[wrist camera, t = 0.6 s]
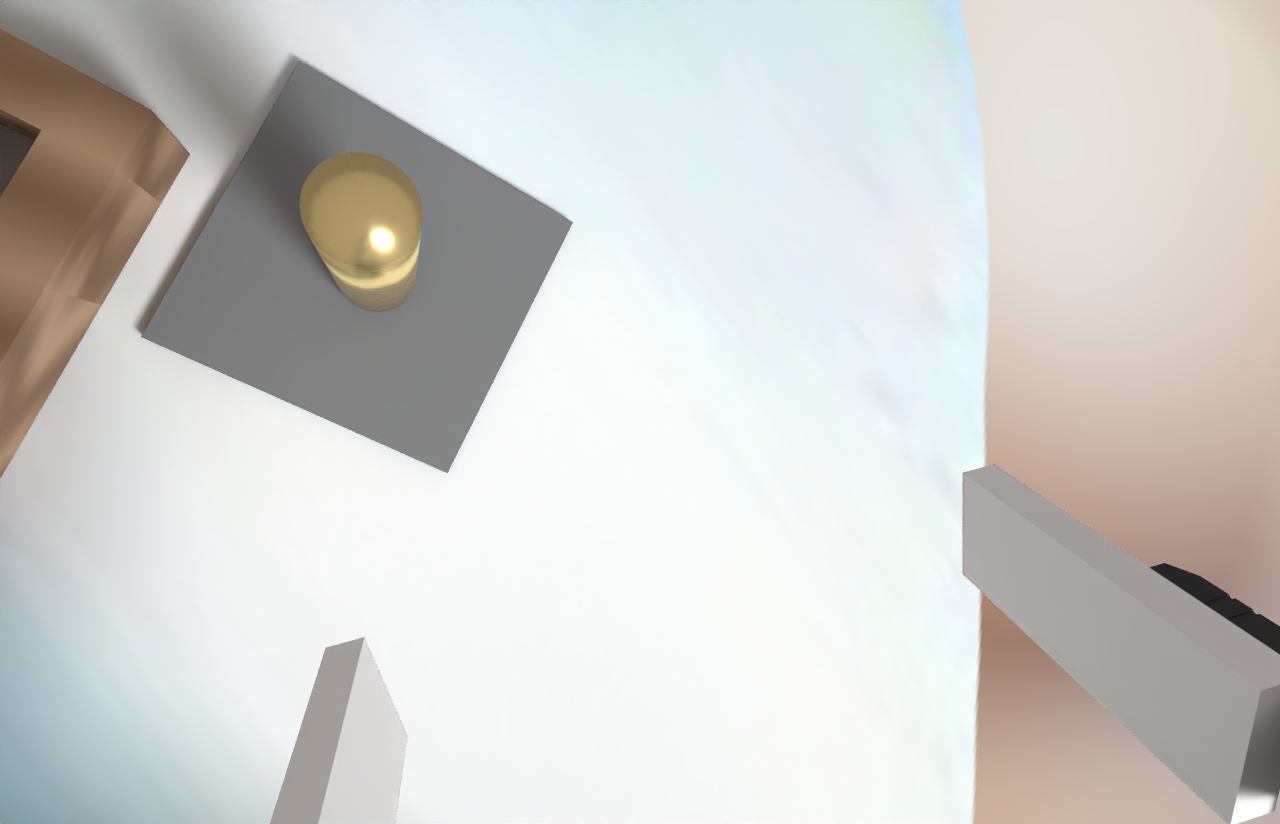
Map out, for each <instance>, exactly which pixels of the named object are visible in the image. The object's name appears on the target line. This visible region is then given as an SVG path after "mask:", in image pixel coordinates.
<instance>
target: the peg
mask: <svg viewBox="0 0 1280 824" xmlns="http://www.w3.org/2000/svg"><path fill="white" fill-rule="evenodd" d="M300 214H301V218H302V222H303V225H304V227H305V229H306V232H307V233H308V235H309V237H310V239H311V240H312V242H313V244H314V245H315V247H316V249H317V251H318V252H319V254H320V256H321V258H322V259H323V261H324V263H325V265H326V266H327V268H328V270H329V272H330V273H331V275H332V277H333V278H334V280H335V282H336V284H337V285H338V287H339V289H340V291H341V292H342V294H343V295H344V296H345V298H346V299H347V300H348V301H349V302H351V303H352V304H353V305H355V306H357V307H358V308H361V309H363V310H366V311H371V312H385V311H390V310H392V309H395V308H397V307H399V306H400V305H402V304H403V303H404V302H405V301H406V300H407V299H408V298H409V296H410V295H411V293H412V291H413V289H414V285H415V279H416V271H417V262H418V253H419V245H420V236H421V228H422V219H423V211H422V204H421V200H420V197H419V194H418V192H417V189H416V188H415V186H414V184H413V183H412V181H411V180H410V179H409V177H408V176H407V175H406V174H405V173H404V172H403V171H402V170H401V169H400V168H399V167H397V166H396V165H395V164H393V163H392V162H390V161H388V160H386V159H384V158H382V157H379V156H377V155H374V154H369V153H363V152H348V153H342V154H338V155H335V156H332V157H330V158H328V159H326V160H325V161H323V162H321V163H320V164H319V165H318V166H316V167H315V168H314V169H313V171H312V172H311V173H310V174H309V176H308V177H307V179H306V181H305V183H304V185H303V188H302V191H301V196H300Z"/></svg>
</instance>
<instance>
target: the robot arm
mask: <svg viewBox="0 0 1280 824" xmlns="http://www.w3.org/2000/svg"><path fill="white" fill-rule="evenodd" d="M963 575H964V576H965V577H967V578H968V579H969V580H970V581H971V582H972V583H973V584H974V585H975V586H976V587H977V588H978V589H979V590H980V591H981V592H982V593H983V594H985V595H986V596H987V597H988V598H989V599H990V600H991V601H992V602H993V603H994V604H995V605H996V606H997V607H998V608H999V609H1000V610H1001V611H1003V612H1004V613H1005V614H1006V615H1007V616H1008V617H1009V618H1010V619H1011V620H1012V621H1013V622H1014V623H1015V624H1016V625H1018V627H1020V628H1021V629H1022V630H1023V631H1024V632H1025V633H1026V634H1027V635H1028V636H1029V637H1030V638H1031V639H1032V640H1033V641H1034V642H1035V643H1036V644H1038V645H1039V646H1040V647H1041V648H1042V649H1043V650H1044V651H1045V652H1046V653H1047V654H1048V655H1049V656H1050V657H1051V658H1052V659H1053V660H1055V661H1056V662H1057V663H1058V664H1059V665H1060V666H1061V667H1062V668H1063V669H1064V670H1065V671H1066V672H1068V674H1070V675H1071V677H1073V678H1074V679H1075V680H1076V681H1077V682H1078V683H1079V684H1080V685H1081V686H1082V687H1083V688H1084V689H1085V690H1086V691H1087V692H1088V693H1089V694H1091V695H1092V696H1093V697H1094V698H1095V699H1096V700H1097V701H1098V702H1099V703H1100V704H1101V705H1102V706H1103V707H1104V708H1105V709H1107V711H1109V712H1110V713H1111V714H1112V715H1113V716H1114V717H1115V718H1116V719H1117V720H1118V721H1119V722H1120V723H1121V724H1122V725H1123V726H1124V727H1126V728H1127V729H1128V730H1129V731H1130V732H1131V733H1132V734H1133V735H1134V736H1135V737H1136V738H1137V739H1138V740H1139V741H1140V742H1142V744H1144V745H1145V746H1146V747H1147V748H1148V749H1149V750H1150V751H1151V752H1152V753H1153V754H1154V755H1155V756H1156V757H1157V758H1158V759H1160V761H1162V762H1163V763H1164V764H1165V765H1166V766H1167V767H1168V768H1169V769H1170V770H1171V771H1172V772H1173V773H1174V774H1175V775H1176V776H1177V777H1178V778H1180V779H1181V780H1182V781H1183V782H1184V783H1185V784H1186V785H1187V786H1188V787H1189V788H1190V789H1191V790H1192V791H1193V792H1194V793H1195V794H1196V795H1198V796H1199V797H1200V798H1201V799H1202V800H1203V801H1204V802H1205V803H1206V804H1207V805H1208V806H1209V807H1211V809H1212V810H1213V811H1215V812H1216V813H1217V814H1218V815H1219V816H1220V817H1221V818H1222V819H1223V820H1224V821H1225V822H1226V823H1227V824H1238V823H1241V822H1243V821H1246V820H1249V819H1252V818H1255V817H1258V816H1261V815H1264V814H1267V813H1269V812H1272V811H1274V810H1275V806H1276V802H1277V798H1278V794H1279V790H1280V626H1278V625H1277V624H1275V623H1273V622H1272V621H1270V620H1269V619H1267V618H1266V617H1264V616H1262V615H1261V614H1255V613H1254V611H1253V609H1251V608H1250V607H1248V606H1246V605H1245V604H1243V603H1242V602H1240V601H1239V600H1237V599H1231V598H1230V596H1229V594H1227V593H1226V592H1224V591H1222V590H1221V589H1219V588H1218V587H1216V586H1215V585H1213V584H1212V583H1210V582H1208V581H1207V580H1205V579H1204V578H1202V577H1201V576H1198V575H1196V574H1193V573H1190V572H1187V571H1184V570H1182V569H1179V568H1177V567H1174V566H1171V565H1168V564H1166V563H1163V564H1160V565H1157V566H1153V567H1150V568H1149V567H1148V566H1146V565H1144V564H1143V563H1142V562H1140V561H1138V560H1137V559H1136V558H1134V557H1133V556H1131V555H1130V554H1128V553H1127V552H1125V551H1124V550H1122V549H1121V548H1119V547H1118V546H1116V545H1115V544H1113V543H1112V542H1110V541H1109V540H1107V539H1106V538H1104V537H1103V536H1101V535H1100V534H1098V533H1097V532H1095V531H1094V530H1092V529H1090V528H1089V527H1088V526H1086V525H1085V524H1083V523H1081V522H1080V521H1079V520H1077V519H1076V518H1074V517H1073V516H1071V515H1070V514H1068V513H1066V512H1065V511H1064V510H1062V509H1061V508H1059V507H1057V506H1056V505H1055V504H1053V503H1052V502H1050V501H1048V500H1047V499H1046V498H1044V497H1043V496H1041V495H1040V494H1038V493H1036V492H1035V491H1034V490H1032V489H1031V488H1029V487H1028V486H1026V485H1025V484H1023V483H1022V482H1020V481H1018V480H1017V479H1016V478H1014V477H1013V476H1011V475H1010V474H1008V473H1006V472H1005V471H1004V470H1002V469H1001V468H999V467H998V466H996V465H994V464H993V465H990V466H986V467H982V468H978V469H975V470H971V471H968V472H964V473H963ZM406 742H407V734H406V731H405V729H404V727H403V725H402V722H401V720H400V718H399V715H398V713H397V711H396V708H395V706H394V704H393V702H392V699H391V697H390V695H389V692H388V690H387V688H386V686H385V683H384V681H383V679H382V676H381V674H380V672H379V670H378V667H377V665H376V663H375V660H374V658H373V656H372V654H371V651H370V649H369V647H368V644H367V642H366V640H365V638H364V637H363V638H360V639H356V640H353V641H349V642H345V643H342V644H338V645H334V646H331V647H327V648H326V649H325V652H324V655H323V658H322V661H321V665H320V668H319V671H318V674H317V677H316V680H315V684H314V687H313V690H312V693H311V696H310V699H309V702H308V706H307V709H306V712H305V715H304V718H303V721H302V725H301V728H300V731H299V734H298V737H297V740H296V744H295V747H294V750H293V753H292V756H291V759H290V762H289V766H288V769H287V772H286V775H285V778H284V781H283V785H282V788H281V791H280V794H279V797H278V800H277V804H276V807H275V810H274V813H273V816H272V819H271V822H270V824H395V822H396V815H397V807H398V800H399V793H400V785H401V778H402V771H403V763H404V756H405V749H406Z"/></svg>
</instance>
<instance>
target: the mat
mask: <svg viewBox="0 0 1280 824" xmlns="http://www.w3.org/2000/svg"><path fill="white" fill-rule="evenodd" d="M348 152H363V153H369V154H374V155H377V156H379V157H382V158H384V159H386V160H388V161H390V162H392V163H393V164H395V165H396V166H397V167H399V168H400V169H401V170H402V171H403V172H404V173H405V174H406V175H407V176H408V177H409V179H410V180H411V181H412V183H413V184H414V186H415V188H416V189H417V192H418V194H419V197H420V200H421V204H422V211H423V219H422V228H421V236H420V245H419V253H418V262H417V271H416V279H415V285H414V289H413V291H412V293H411V295H410V296H409V298H408V299H407V300H406V301H405V302H404V303H403V304H402V305H400V306H399V307H397V308H395V309H392V310H390V311H385V312H371V311H366V310H363V309H361V308H358V307H357V306H355V305H353V304H352V303H351V302H349V301H348V300H347V299H346V298H345V296H344V295H343V294H342V292H341V291H340V289H339V287H338V285H337V284H336V282H335V280H334V278H333V277H332V275H331V273H330V272H329V270H328V268H327V266H326V265H325V263H324V261H323V259H322V258H321V256H320V254H319V252H318V251H317V249H316V247H315V245H314V244H313V242H312V240H311V239H310V237H309V235H308V233H307V232H306V229H305V227H304V225H303V222H302V218H301V214H300V196H301V191H302V188H303V185H304V183H305V181H306V179H307V177H308V176H309V174H310V173H311V172H312V171H313V169H314V168H315V167H316V166H318V165H319V164H320V163H321V162H323V161H325V160H326V159H328V158H330V157H332V156H335V155H338V154H342V153H348ZM572 223H573V222H572V221H570V220H568V219H567V218H565V217H563V216H561V215H560V214H558V213H556V212H555V211H553V210H551V209H550V208H548V207H546V206H544V205H543V204H541V203H539V202H538V201H536V200H534V199H533V198H531V197H529V196H528V195H526V194H524V193H522V192H521V191H519V190H517V189H516V188H514V187H512V186H511V185H509V184H507V183H506V182H504V181H502V180H500V179H499V178H497V177H495V176H494V175H492V174H490V173H489V172H487V171H485V170H484V169H482V168H480V167H478V166H477V165H475V164H473V163H472V162H470V161H468V160H467V159H465V158H463V157H462V156H460V155H458V154H456V153H455V152H453V151H451V150H450V149H448V148H446V147H445V146H443V145H441V144H440V143H438V142H436V141H434V140H433V139H431V138H429V137H428V136H426V135H424V134H423V133H421V132H419V131H418V130H416V129H414V128H412V127H411V126H409V125H407V124H406V123H404V122H402V121H401V120H399V119H397V118H396V117H394V116H392V115H390V114H389V113H387V112H385V111H384V110H382V109H380V108H379V107H377V106H375V105H373V104H372V103H370V102H368V101H367V100H365V99H363V98H362V97H360V96H358V95H357V94H355V93H353V92H351V91H350V90H348V89H346V88H345V87H343V86H341V85H340V84H338V83H336V82H335V81H333V80H331V79H329V78H328V77H326V76H324V75H323V74H321V73H319V72H318V71H316V70H314V69H313V68H311V67H309V66H307V65H306V64H304V63H302V62H301V61H299V63H298V64H297V66H296V68H295V70H294V71H293V73H292V75H291V77H290V78H289V80H288V82H287V84H286V85H285V87H284V89H283V91H282V92H281V94H280V96H279V98H278V99H277V101H276V103H275V104H274V106H273V108H272V110H271V111H270V113H269V115H268V117H267V118H266V120H265V122H264V124H263V125H262V127H261V129H260V131H259V132H258V134H257V136H256V138H255V139H254V141H253V143H252V145H251V146H250V148H249V150H248V152H247V153H246V155H245V157H244V158H243V160H242V162H241V164H240V165H239V167H238V169H237V171H236V172H235V174H234V176H233V178H232V179H231V181H230V183H229V185H228V186H227V188H226V190H225V192H224V193H223V195H222V197H221V199H220V200H219V202H218V204H217V206H216V207H215V209H214V211H213V213H212V214H211V216H210V218H209V219H208V221H207V223H206V225H205V226H204V228H203V230H202V232H201V233H200V235H199V237H198V239H197V240H196V242H195V244H194V246H193V247H192V249H191V251H190V253H189V254H188V256H187V258H186V260H185V261H184V263H183V265H182V267H181V268H180V270H179V272H178V273H177V275H176V277H175V279H174V280H173V282H172V284H171V286H170V287H169V289H168V291H167V293H166V294H165V296H164V298H163V300H162V301H161V303H160V305H159V307H158V308H157V310H156V312H155V314H154V315H153V317H152V319H151V321H150V322H149V324H148V326H147V327H146V329H145V331H144V333H143V334H142V336H141V337H142V338H145V339H147V340H149V341H151V342H154V343H156V344H158V345H160V346H163V347H165V348H167V349H169V350H172V351H174V352H176V353H178V354H181V355H183V356H185V357H187V358H190V359H192V360H194V361H196V362H199V363H201V364H203V365H205V366H208V367H210V368H212V369H214V370H217V371H219V372H221V373H223V374H226V375H228V376H230V377H232V378H235V379H237V380H239V381H241V382H244V383H246V384H248V385H250V386H253V387H255V388H257V389H259V390H262V391H264V392H266V393H268V394H271V395H273V396H275V397H277V398H280V399H282V400H284V401H286V402H289V403H291V404H293V405H295V406H298V407H300V408H302V409H304V410H307V411H309V412H311V413H313V414H316V415H318V416H320V417H322V418H325V419H327V420H329V421H331V422H334V423H336V424H338V425H340V426H343V427H345V428H347V429H349V430H352V431H354V432H356V433H358V434H361V435H363V436H365V437H367V438H370V439H372V440H374V441H376V442H379V443H381V444H383V445H385V446H388V447H390V448H392V449H394V450H397V451H399V452H401V453H403V454H406V455H408V456H410V457H412V458H415V459H417V460H419V461H421V462H424V463H426V464H428V465H430V466H433V467H435V468H437V469H439V470H442V471H444V472H446V473H448V471H449V469H450V467H451V465H452V463H453V461H454V459H455V457H456V455H457V453H458V451H459V449H460V447H461V445H462V443H463V441H464V439H465V437H466V435H467V433H468V431H469V429H470V427H471V425H472V423H473V421H474V419H475V417H476V415H477V413H478V411H479V409H480V407H481V405H482V403H483V401H484V399H485V397H486V395H487V393H488V391H489V389H490V387H491V385H492V383H493V381H494V379H495V377H496V375H497V373H498V371H499V369H500V367H501V365H502V363H503V361H504V359H505V357H506V355H507V353H508V351H509V349H510V347H511V345H512V343H513V341H514V339H515V337H516V335H517V333H518V331H519V329H520V327H521V325H522V323H523V321H524V319H525V317H526V315H527V313H528V311H529V309H530V307H531V305H532V303H533V301H534V299H535V297H536V295H537V293H538V291H539V289H540V287H541V285H542V283H543V281H544V279H545V277H546V275H547V273H548V271H549V269H550V267H551V265H552V263H553V261H554V259H555V257H556V255H557V253H558V251H559V249H560V247H561V245H562V243H563V241H564V239H565V237H566V235H567V233H568V231H569V229H570V227H571V225H572Z"/></svg>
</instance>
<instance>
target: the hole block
mask: <svg viewBox="0 0 1280 824" xmlns="http://www.w3.org/2000/svg"><path fill="white" fill-rule="evenodd" d="M0 123H1V124H3V125H5V126H7V127H9V128H11V129H13V130H15V131H17V132H19V133H21V134H23V135H25V136H27V137H29V138H31V139H33V140H35V142H34V143H33V145H32V146H31V148H30V150H29V151H28V153H27V155H26V156H25V158H24V159H23V161H22V163H21V164H20V166H19V167H18V169H17V171H16V172H15V174H14V176H13V177H12V179H11V180H10V182H9V184H8V185H7V187H6V188H5V190H4V192H3V193H2V195H1V197H0V477H1V476H2V474H3V472H4V471H5V469H6V467H7V466H8V464H9V462H10V460H11V459H12V457H13V455H14V454H15V452H16V450H17V448H18V447H19V445H20V443H21V442H22V440H23V438H24V436H25V435H26V433H27V431H28V430H29V428H30V426H31V425H32V423H33V421H34V419H35V418H36V416H37V414H38V413H39V411H40V409H41V407H42V406H43V404H44V402H45V401H46V399H47V397H48V395H49V394H50V392H51V390H52V389H53V387H54V385H55V384H56V382H57V380H58V378H59V377H60V375H61V373H62V372H63V370H64V368H65V366H66V365H67V363H68V361H69V360H70V358H71V356H72V354H73V353H74V351H75V349H76V348H77V346H78V344H79V343H80V341H81V339H82V337H83V336H84V334H85V332H86V331H87V329H88V327H89V325H90V324H91V322H92V320H93V319H94V317H95V315H96V313H97V312H98V310H99V308H100V307H101V305H102V303H103V302H104V300H105V298H106V296H107V295H108V293H109V291H110V290H111V288H112V286H113V284H114V283H115V281H116V279H117V278H118V276H119V274H120V272H121V271H122V269H123V267H124V266H125V264H126V262H127V261H128V259H129V257H130V255H131V254H132V252H133V250H134V249H135V247H136V245H137V243H138V242H139V240H140V238H141V237H142V235H143V233H144V232H145V230H146V228H147V226H148V225H149V223H150V221H151V220H152V218H153V216H154V214H155V213H156V211H157V209H158V208H159V206H160V204H161V202H162V201H163V199H164V197H165V196H166V194H167V192H168V191H169V189H170V187H171V185H172V184H173V182H174V180H175V179H176V177H177V175H178V173H179V172H180V170H181V168H182V167H183V165H184V163H185V161H186V160H187V158H188V156H189V155H190V154H189V153H188V152H187V150H186V149H185V148H184V147H183V146H182V145H181V144H180V142H179V141H178V140H177V139H176V138H175V137H174V136H173V134H172V133H171V132H170V131H169V130H168V129H167V128H166V126H165V125H164V124H163V123H162V122H161V121H160V120H159V118H158V117H157V116H156V115H155V114H154V113H153V112H152V110H150V109H148V108H146V107H144V106H143V105H141V104H139V103H137V102H135V101H133V100H131V99H129V98H128V97H126V96H124V95H122V94H120V93H118V92H116V91H115V90H113V89H111V88H109V87H107V86H105V85H103V84H102V83H100V82H98V81H96V80H94V79H92V78H90V77H88V76H87V75H85V74H83V73H81V72H79V71H77V70H75V69H74V68H72V67H70V66H68V65H66V64H64V63H62V62H60V61H59V60H57V59H55V58H53V57H51V56H49V55H47V54H46V53H44V52H42V51H40V50H38V49H36V48H34V47H33V46H31V45H29V44H27V43H25V42H23V41H21V40H19V39H18V38H16V37H14V36H12V35H10V34H8V33H6V32H5V31H3V30H1V29H0Z"/></svg>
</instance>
